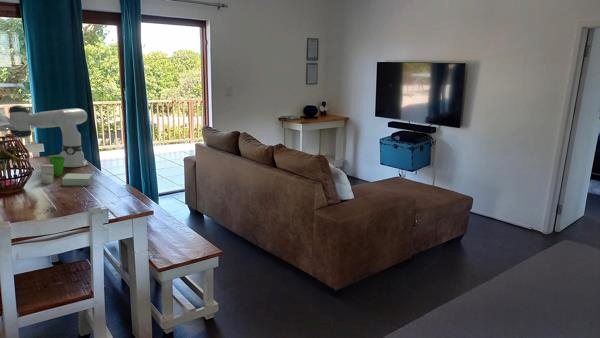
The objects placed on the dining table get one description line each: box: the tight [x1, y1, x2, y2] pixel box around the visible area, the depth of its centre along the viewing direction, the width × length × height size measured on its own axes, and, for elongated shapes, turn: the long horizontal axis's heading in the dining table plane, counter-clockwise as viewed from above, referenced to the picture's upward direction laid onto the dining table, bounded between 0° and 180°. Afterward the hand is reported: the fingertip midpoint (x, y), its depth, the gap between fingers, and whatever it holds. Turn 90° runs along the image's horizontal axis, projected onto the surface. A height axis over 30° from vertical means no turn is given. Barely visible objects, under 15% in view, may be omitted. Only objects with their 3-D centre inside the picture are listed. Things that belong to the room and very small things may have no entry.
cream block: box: [40, 164, 55, 184], centre depth 253 cm, size 5×5×10 cm
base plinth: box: [61, 173, 94, 187], centre depth 258 cm, size 13×14×4 cm
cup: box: [48, 155, 65, 177], centre depth 271 cm, size 9×9×11 cm
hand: (11, 129), depth 247 cm, fingers open, 8 cm apart
